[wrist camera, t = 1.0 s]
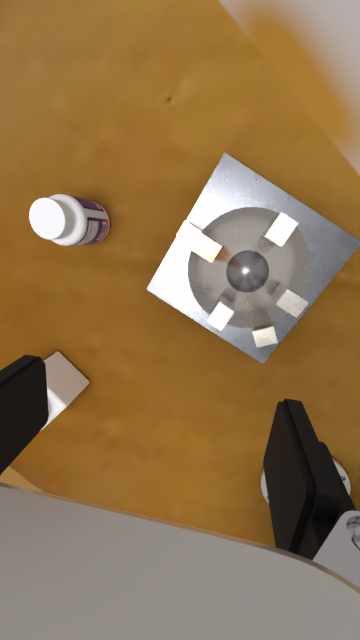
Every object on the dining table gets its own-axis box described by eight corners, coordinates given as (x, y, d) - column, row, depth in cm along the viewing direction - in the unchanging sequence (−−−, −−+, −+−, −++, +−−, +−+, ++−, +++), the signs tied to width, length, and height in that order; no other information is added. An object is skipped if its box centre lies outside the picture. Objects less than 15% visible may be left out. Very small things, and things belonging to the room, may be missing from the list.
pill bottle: (66, 210, 38) (13, 202, 28) (100, 194, 36) (56, 180, 27) (83, 249, 39) (37, 254, 30) (117, 235, 37) (80, 235, 28)
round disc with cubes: (328, 249, 32) (354, 253, 25) (258, 339, 36) (264, 363, 29) (215, 176, 31) (210, 159, 25) (157, 275, 36) (141, 283, 29)
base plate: (355, 241, 33) (378, 242, 28) (261, 357, 39) (265, 377, 34) (225, 157, 33) (224, 142, 27) (150, 286, 39) (137, 294, 33)
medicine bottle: (58, 349, 44) (-2, 388, 33) (91, 381, 45) (43, 431, 33) (33, 375, 46) (-31, 420, 35) (64, 405, 47) (12, 459, 36)
